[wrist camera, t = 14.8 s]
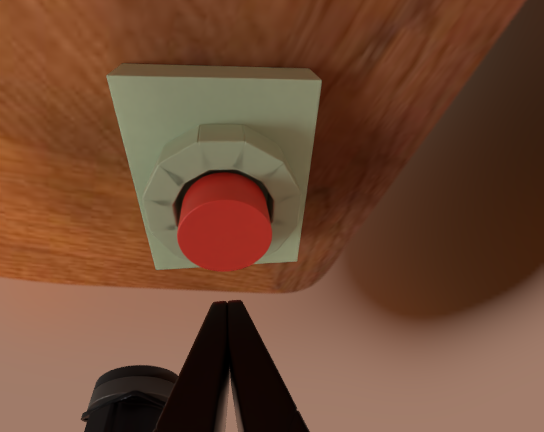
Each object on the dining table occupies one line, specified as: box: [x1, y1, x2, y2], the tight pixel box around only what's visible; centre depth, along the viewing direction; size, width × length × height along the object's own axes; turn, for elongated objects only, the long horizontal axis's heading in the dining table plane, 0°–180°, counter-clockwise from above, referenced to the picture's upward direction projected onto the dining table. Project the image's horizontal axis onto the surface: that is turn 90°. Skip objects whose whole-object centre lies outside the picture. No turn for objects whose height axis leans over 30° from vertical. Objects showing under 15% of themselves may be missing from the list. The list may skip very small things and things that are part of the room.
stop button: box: [177, 172, 272, 271], centre depth 12 cm, size 4×4×2 cm
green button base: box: [107, 63, 322, 270], centre depth 14 cm, size 10×8×4 cm
